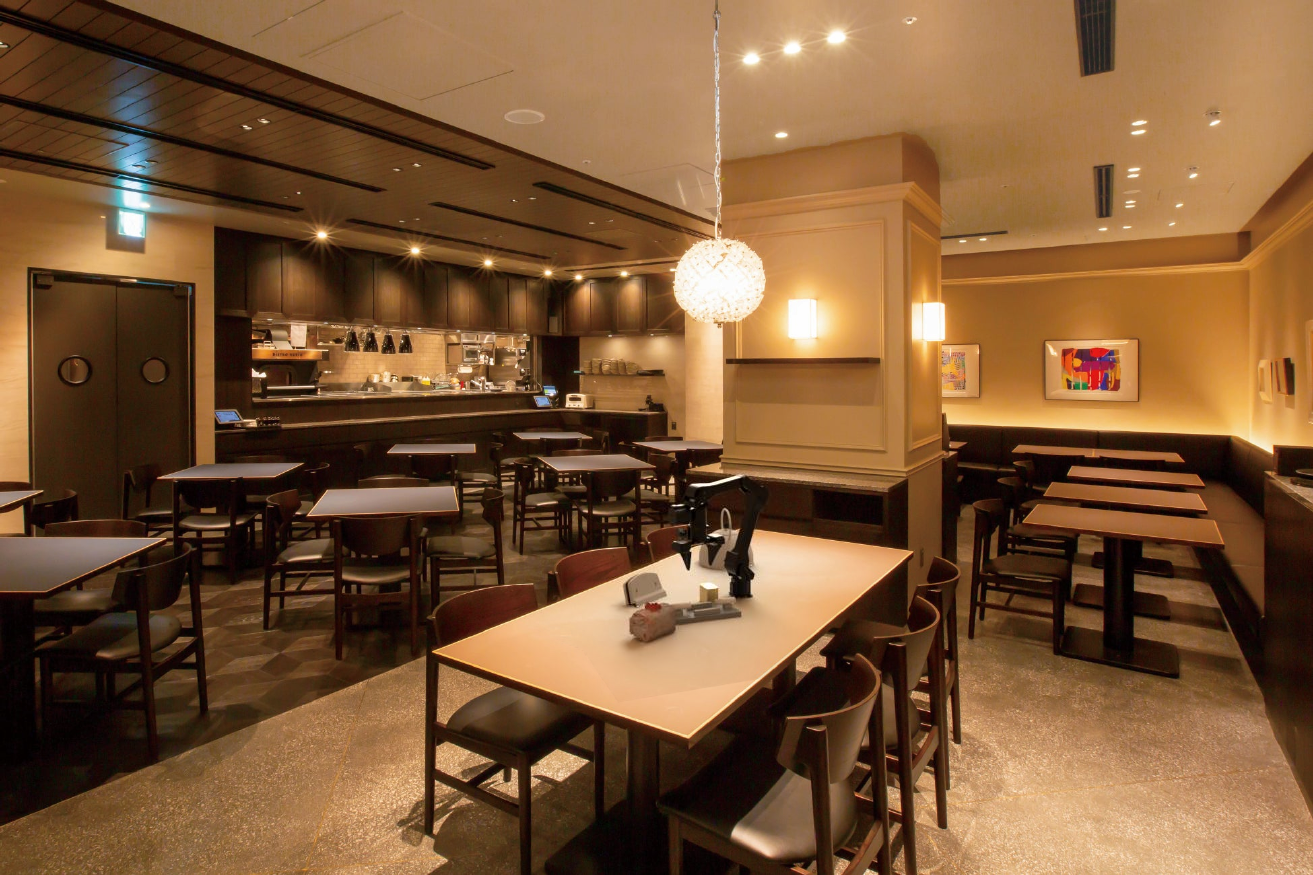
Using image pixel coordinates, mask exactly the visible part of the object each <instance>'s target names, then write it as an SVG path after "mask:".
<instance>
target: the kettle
mask: <svg viewBox="0 0 1313 875" xmlns="http://www.w3.org/2000/svg"><path fill="white" fill-rule="evenodd" d="M724 512H726V514H727V517H728V521H724ZM715 533H716V534H719V535H723V536H724V538H725V544H722V547H721V548H720V549H719V551H718V553H717V555H716V557H715V559H714V561H713V563H712V565H711V566H710V565H709V563H708V548H707V546H706V544H704V545H700V547H699V553H698V564H699V565H700V566H701V565H702V567H704V568H707V567H709V568H708V569H711V568H713V570H719V569H725V567H724V563H725V562H723V561H724V559H725V557H726V552H727V551H731V550H732V549H733V548H734V547H735V543H736V540H737V537H738V533H739V531H736V530H734V529H732V518H731V513H730V511H729V510H728V509H727V508H722V510H721V513H720V529H717V530H715V531H713V532H712V533H710V534H715ZM748 555H749V560H750V561H749V568H751V567H752V566H754V564H755V563H754V551H753V547H752V545H751V544H750V546H749V550H748ZM753 563H754V564H753ZM751 565H752V566H751ZM750 566H751V567H750Z"/></svg>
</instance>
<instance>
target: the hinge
mask: <svg viewBox="0 0 1313 875" xmlns="http://www.w3.org/2000/svg"><path fill="white" fill-rule="evenodd" d="M622 588H623V589H622V590H623V594H624V600H625V605H626V604H628V605H633V604H635V606H639V607H641V605H642V606H644V605H643V604H645V605H646V602H647V601H648V602H650V603H653V602H655V601H658V600H659V598H660V599H662V598H665V597H667V596H668V594H667V591H666V590H665V589H664V588H663V586H662V583H661V581H660V578H659V575H658V573H655V572H642V573H638V574H634V575H633V576H631V577H630V578H628V579H627V580H625V582H624V583H623V585H622ZM654 600H655V601H654Z"/></svg>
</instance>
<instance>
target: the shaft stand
mask: <svg viewBox="0 0 1313 875" xmlns="http://www.w3.org/2000/svg"><path fill="white" fill-rule="evenodd" d="M735 603H736V598H735V597H734V596H731V597H720V598H718V599H715V604H712V602H711V601H710V602H695V603H691V602H690V601H688V602H680V603H672V604H670V603H669V604H670V605H671V606H673V607H674V610H675V623H676V625H677V624H678V625H683V624H684V623H686V624H690V623H691V624H692V623H700V622H699V621H701V622H706V621H713V620H714V621H715V619H716V620H722V619H724V620H725V619H730V618H738V617H742V611H741V610H739V609H738V608H737V607H735V606H733V604H735Z"/></svg>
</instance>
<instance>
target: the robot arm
mask: <svg viewBox="0 0 1313 875" xmlns="http://www.w3.org/2000/svg"><path fill="white" fill-rule="evenodd" d="M738 489H739V490H740V491H741V492H742V493H743V494H744V499H743V501H744V505H745V509H744V513H743V517H742V519H741V523H740V527H739V529H738V530H739V531H738V532H739V533H738V537H737V540H736V543H735V547H734V548H733V549H732V550H731V551H727V552H726V557H725V559H724V561H723V562H725V563H724V567H725V569H726V570H725V571H726V572H727V575H728V577H730V582H729V591H728V594H729V595H731V597H735V599H742V598H751V597H752V598H753V596H754V595H753V594H752V592H751V590H752V589H751V588H752V587H751V586H752V585H751V584H752V582H751V581H753V580H754V578H755V575H756V573H755V572H754V571H753V570H752V569H751V567H749V561H750V560H749V555H748V550H749V546H750V545H751V542H752V539H753V535H754V532H755V530H756V525H757V521H758V518H759V515H760V513H761V511H762V510H763V509H764V508H765V506H767V503H768V501H769V499H770V495H771V494H770V491H769V488H768V487H766V486H762V485H761V484H760V483H758V482H756V481H755V480H753V479H752V478H750V477H749V476H747V475H743V474H736V475H735V476H731V477H727V478H724V479H720V480H717V481H713V482H710V483H691V484H690V485H688V486H687V488H686V490H685V493H684V495H683V497H682V499H681V500H680V502H679V504H672V505H670V509H669V510H668V513H667V514H666V516H667V522H668V523H669V525H670V526H671V527H677V526H683V525H686V529H683V527H679V528H675V533H674V534H675V537H676V539H678V540H674V541H672V543H671V550H672V551H674V552H676V553H678V554H679V555H680V556H681V558H682V561H683V564H684V566H685V568H686V571H689V572H690V570H691V562H692V551H691V549H692V548H694V547H699V546H701V545H704V544H706V546H707V548H708V563H709V565H710V566H711V565H712V563H713V561H714V559H715V557H716V555H717V553H718V551H719V549H720V548H721V547H722V544H725V538H724V536H723V535H719V534H716V533H715V534H711V533H709V534H708V533H707V532H708V529H710V525H708V524H707V523H708V521H707V518H708V517H707V509H711V508H713V506H712V505H711V503H709V502H708V501H710V500H712V499H713V498H714V497H715V496H717V495H721V494H724V493H727V492H732V491H735V490H738Z"/></svg>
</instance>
